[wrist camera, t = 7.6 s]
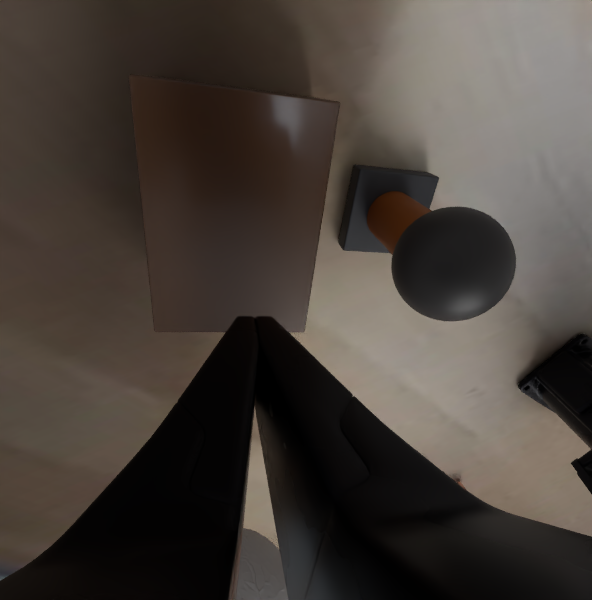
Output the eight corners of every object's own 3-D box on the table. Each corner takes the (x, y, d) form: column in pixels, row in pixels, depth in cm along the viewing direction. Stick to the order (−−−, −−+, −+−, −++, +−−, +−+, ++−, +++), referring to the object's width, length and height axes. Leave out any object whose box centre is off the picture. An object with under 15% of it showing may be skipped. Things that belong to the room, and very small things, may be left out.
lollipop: (160, 414, 26) (93, 737, 13) (251, 377, 25) (273, 675, 13) (208, 465, 29) (192, 755, 17) (288, 435, 29) (333, 708, 16)
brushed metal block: (313, 97, 17) (340, 102, 13) (290, 284, 22) (304, 332, 18) (156, 76, 15) (127, 73, 11) (169, 280, 20) (154, 332, 16)
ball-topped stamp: (390, 162, 21) (575, 209, 15) (373, 233, 23) (529, 297, 18) (288, 166, 16) (515, 240, 10) (278, 258, 18) (460, 359, 12)
